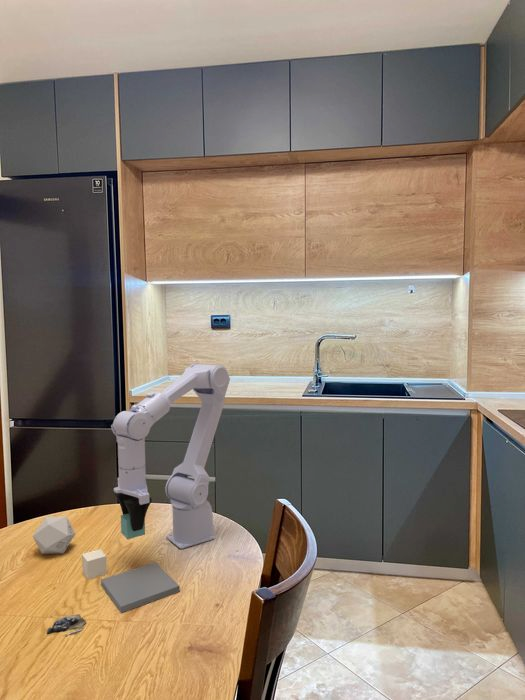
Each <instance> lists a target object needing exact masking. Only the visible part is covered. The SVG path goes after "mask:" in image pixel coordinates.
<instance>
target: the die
mask: <svg viewBox="0 0 525 700" xmlns="http://www.w3.org/2000/svg"><path fill="white" fill-rule="evenodd" d="M75 535H76V532H75V530H74V528H73V526H72V524H71V521H70V520H69V518H68V517H67V516H46V517H45V518H44V519H43V520H42V522H41V523H40V524H39V525H38V528H37V529H36V531H35V532H34V533H33V534H32V538H33V540H34V542H35V544H36V545H37V548H38V549H39V551H40V553H41V554H42V555H45V554H47V555H49V554H54V555H55V554H56V555H57V554H64V553H65V551H66V550H67V548H68V546H69V545H70V543H71V542H72V540H73V539H74V537H75Z"/></svg>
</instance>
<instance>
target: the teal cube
mask: <svg viewBox="0 0 525 700" xmlns="http://www.w3.org/2000/svg"><path fill="white" fill-rule="evenodd" d="M145 523H146V519H145V520H144V525H143V529H141V530H138V531H133V530H132V527H131V522H130V516H129V514H124V515H123V514H121V515H120V533H121V534H122V535H123V536H124V537H125V539H126V540H130V539H134V538H137V537H140V536H145V535H146V524H145Z"/></svg>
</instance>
